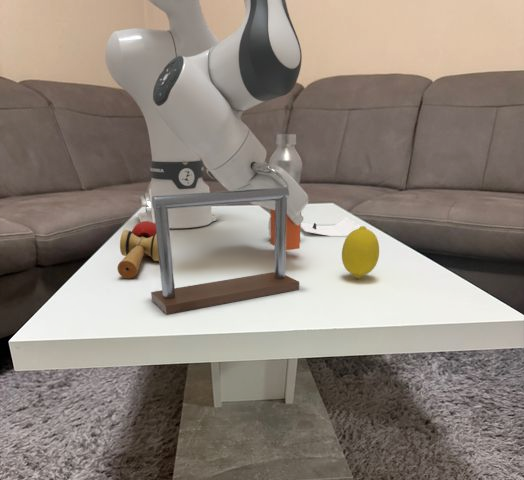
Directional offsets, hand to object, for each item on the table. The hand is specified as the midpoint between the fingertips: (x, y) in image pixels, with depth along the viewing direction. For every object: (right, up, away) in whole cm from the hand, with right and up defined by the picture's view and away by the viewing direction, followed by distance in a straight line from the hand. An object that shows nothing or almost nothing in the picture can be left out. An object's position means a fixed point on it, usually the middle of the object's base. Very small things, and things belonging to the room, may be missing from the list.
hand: (288, 218), depth 82 cm
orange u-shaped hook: (-1, -5, +2) cm, 5 cm away
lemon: (+10, -13, -11) cm, 19 cm away
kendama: (-25, -9, -3) cm, 27 cm away
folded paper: (+10, +3, +22) cm, 25 cm away
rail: (-10, -16, -18) cm, 26 cm away
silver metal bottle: (0, -1, +13) cm, 13 cm away
